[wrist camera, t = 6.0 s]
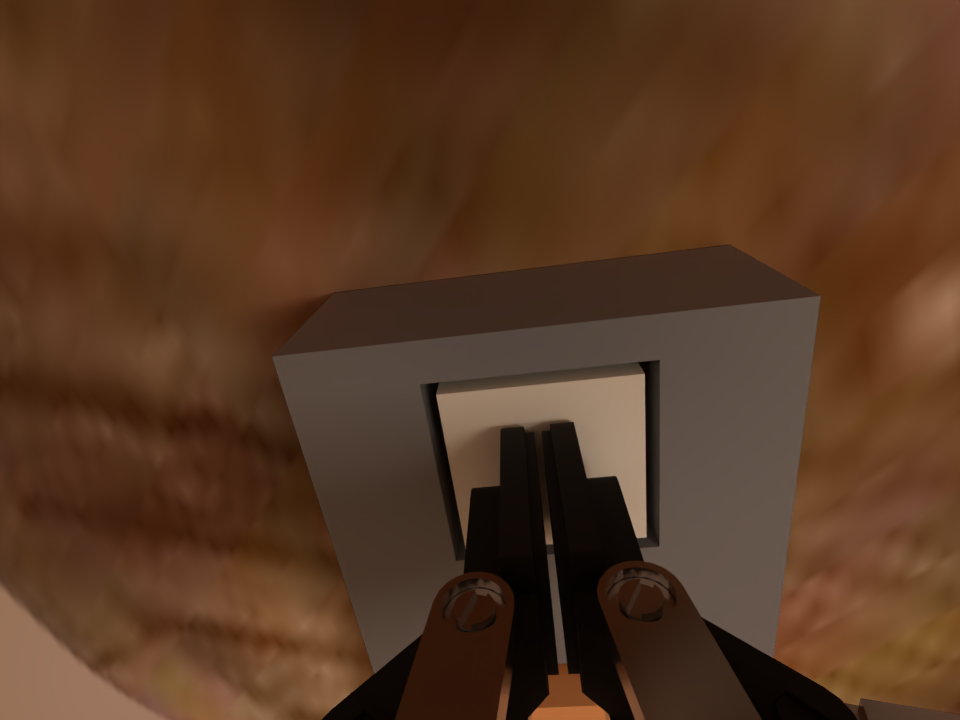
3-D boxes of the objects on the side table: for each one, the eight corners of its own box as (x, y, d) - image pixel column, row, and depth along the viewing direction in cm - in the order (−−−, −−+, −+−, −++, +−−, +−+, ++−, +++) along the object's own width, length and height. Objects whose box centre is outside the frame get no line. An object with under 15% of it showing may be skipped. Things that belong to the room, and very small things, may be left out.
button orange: (491, 614, 17) (488, 710, 14) (632, 606, 16) (657, 702, 14) (507, 703, 19) (507, 803, 16) (634, 698, 18) (657, 799, 16)
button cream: (449, 341, 14) (436, 394, 11) (617, 322, 14) (644, 374, 11) (472, 476, 16) (465, 550, 13) (621, 463, 16) (646, 537, 13)
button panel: (334, 292, 15) (272, 356, 11) (730, 244, 14) (820, 295, 10) (462, 792, 25) (454, 922, 21) (699, 786, 24) (739, 921, 20)
